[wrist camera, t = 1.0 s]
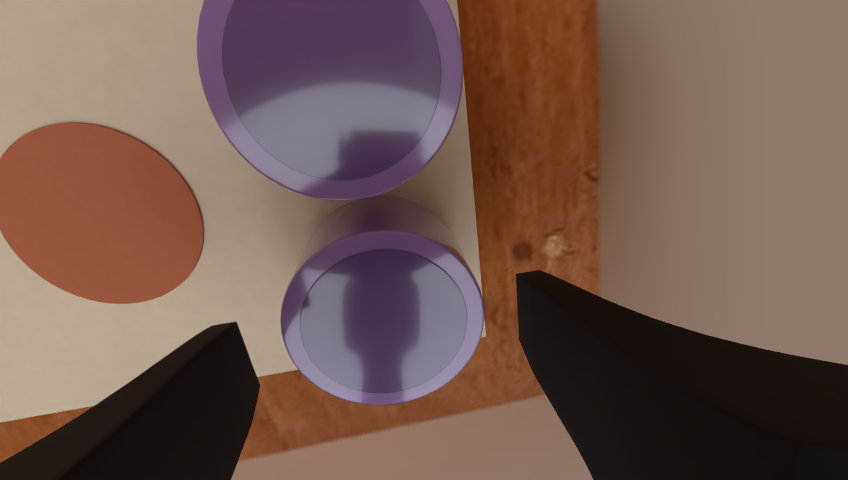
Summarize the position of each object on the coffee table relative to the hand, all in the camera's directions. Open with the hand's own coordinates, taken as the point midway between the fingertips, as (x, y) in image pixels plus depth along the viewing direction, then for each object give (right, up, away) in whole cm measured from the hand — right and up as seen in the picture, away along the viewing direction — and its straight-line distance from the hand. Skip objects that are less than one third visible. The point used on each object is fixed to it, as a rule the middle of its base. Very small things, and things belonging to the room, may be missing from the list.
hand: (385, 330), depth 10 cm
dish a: (0, +2, +4) cm, 4 cm away
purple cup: (-1, +7, +2) cm, 7 cm away
